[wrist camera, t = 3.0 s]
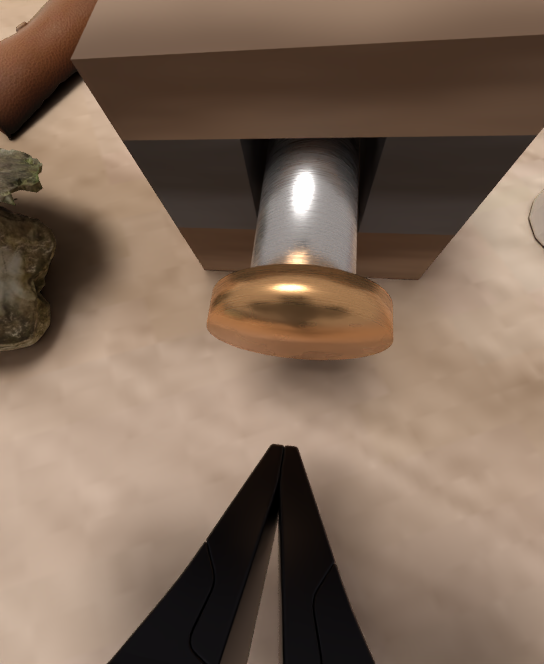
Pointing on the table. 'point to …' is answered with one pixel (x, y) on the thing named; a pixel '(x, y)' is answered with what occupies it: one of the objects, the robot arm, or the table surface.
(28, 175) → the hollow geode rock
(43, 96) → the sunglasses case
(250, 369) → the table surface
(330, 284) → the capped peg
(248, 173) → the walnut block
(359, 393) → the table surface
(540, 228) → the white cup
